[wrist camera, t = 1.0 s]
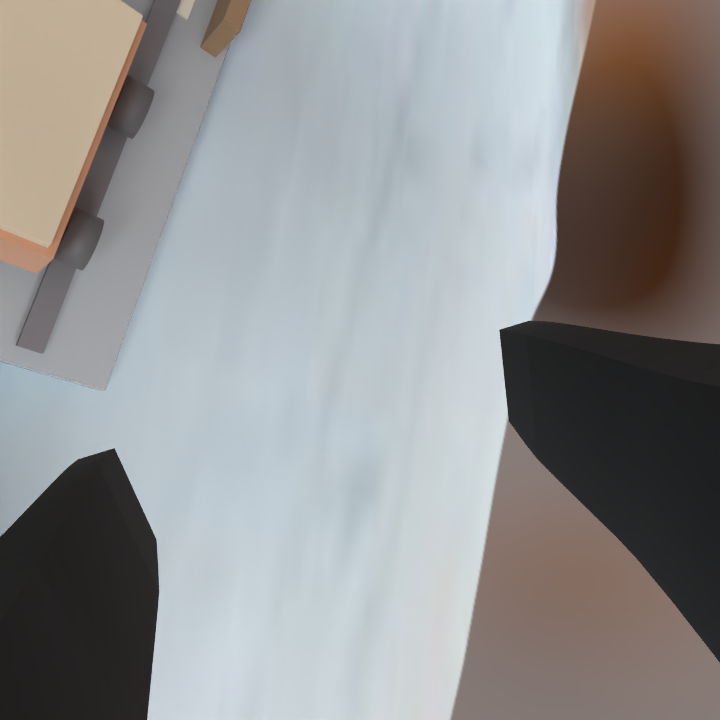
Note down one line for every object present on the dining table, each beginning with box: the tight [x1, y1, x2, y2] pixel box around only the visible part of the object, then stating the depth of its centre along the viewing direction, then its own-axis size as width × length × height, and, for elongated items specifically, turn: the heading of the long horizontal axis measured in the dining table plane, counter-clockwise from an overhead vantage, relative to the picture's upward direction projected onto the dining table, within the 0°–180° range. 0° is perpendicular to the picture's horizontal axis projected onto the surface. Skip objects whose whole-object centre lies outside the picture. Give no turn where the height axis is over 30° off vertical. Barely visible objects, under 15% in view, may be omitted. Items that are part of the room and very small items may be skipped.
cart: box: [0, 0, 155, 274], centre depth 15 cm, size 6×7×4 cm
